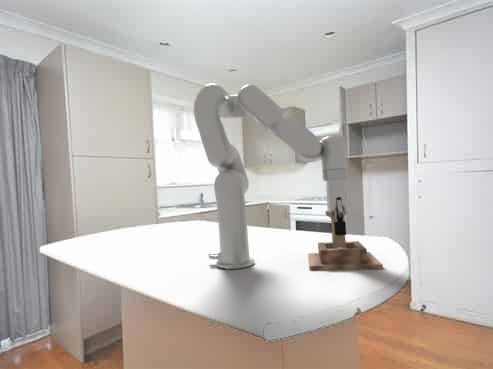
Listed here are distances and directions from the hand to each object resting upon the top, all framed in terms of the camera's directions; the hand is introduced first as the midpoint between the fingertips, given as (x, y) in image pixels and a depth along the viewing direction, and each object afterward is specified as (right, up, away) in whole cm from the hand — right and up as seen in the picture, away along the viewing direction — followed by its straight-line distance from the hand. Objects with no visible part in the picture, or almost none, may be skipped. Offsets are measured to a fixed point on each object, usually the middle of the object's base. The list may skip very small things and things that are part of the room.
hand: (339, 232), depth 90 cm
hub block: (+1, -9, 0) cm, 9 cm away
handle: (0, -8, 0) cm, 8 cm away
